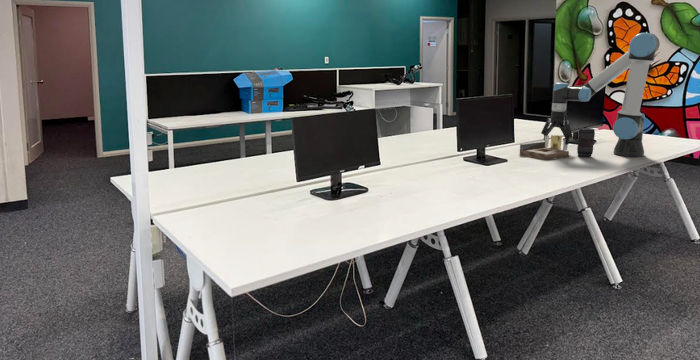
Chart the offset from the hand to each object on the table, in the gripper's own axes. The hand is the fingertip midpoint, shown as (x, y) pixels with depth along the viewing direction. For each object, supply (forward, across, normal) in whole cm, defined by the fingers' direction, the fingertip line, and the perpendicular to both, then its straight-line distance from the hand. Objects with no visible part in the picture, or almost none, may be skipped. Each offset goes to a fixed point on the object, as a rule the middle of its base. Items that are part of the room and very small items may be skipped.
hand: (555, 148), depth 318 cm
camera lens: (+2, +19, 0) cm, 19 cm away
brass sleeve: (+2, 0, 0) cm, 2 cm away
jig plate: (+2, +6, -17) cm, 18 cm away
